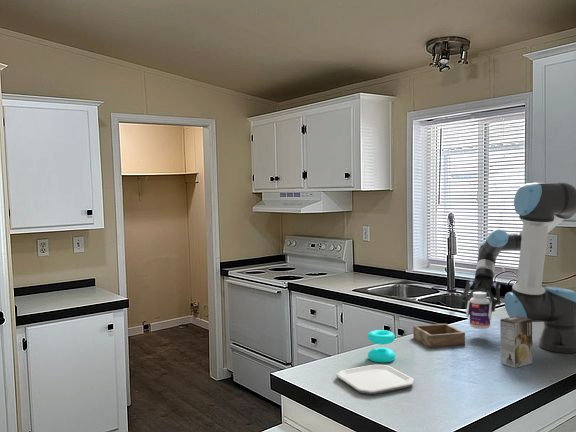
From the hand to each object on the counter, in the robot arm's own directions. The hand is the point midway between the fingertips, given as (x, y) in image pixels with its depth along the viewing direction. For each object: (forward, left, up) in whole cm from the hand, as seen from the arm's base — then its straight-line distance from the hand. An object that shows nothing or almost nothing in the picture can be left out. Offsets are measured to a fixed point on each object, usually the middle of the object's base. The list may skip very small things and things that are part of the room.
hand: (478, 316), depth 215 cm
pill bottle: (+2, -2, -5) cm, 6 cm away
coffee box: (-30, +4, -10) cm, 32 cm away
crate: (+2, +17, -10) cm, 20 cm away
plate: (-34, +59, -10) cm, 69 cm away
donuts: (-13, +48, -10) cm, 51 cm away
